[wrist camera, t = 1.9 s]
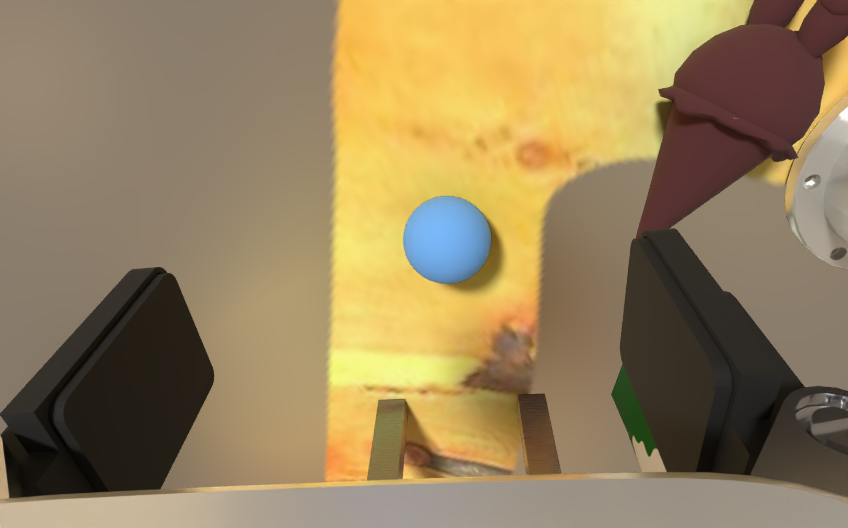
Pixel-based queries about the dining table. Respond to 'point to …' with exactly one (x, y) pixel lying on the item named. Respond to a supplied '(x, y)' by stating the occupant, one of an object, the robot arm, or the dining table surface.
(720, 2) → the dining table surface
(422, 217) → the ball
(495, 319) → the dining table surface
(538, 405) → the right post
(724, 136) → the icecream
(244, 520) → the robot arm
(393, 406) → the left post
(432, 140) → the dining table surface
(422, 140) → the dining table surface
